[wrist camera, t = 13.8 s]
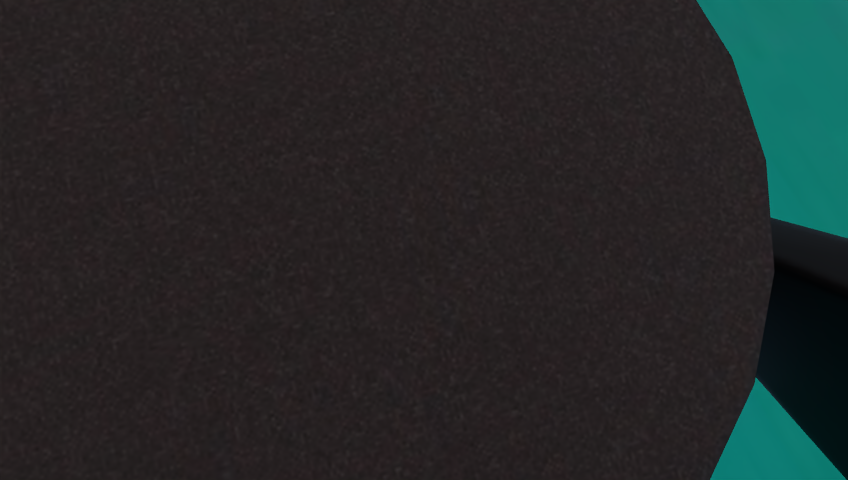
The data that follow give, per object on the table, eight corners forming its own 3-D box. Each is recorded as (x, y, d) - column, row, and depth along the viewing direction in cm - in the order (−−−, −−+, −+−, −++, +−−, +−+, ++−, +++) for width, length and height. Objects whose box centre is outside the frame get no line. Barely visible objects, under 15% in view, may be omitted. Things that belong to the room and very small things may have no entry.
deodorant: (188, 337, 19) (-398, 280, 4) (330, 170, 20) (278, -356, 5) (363, 475, 19) (420, 938, 4) (494, 299, 20) (925, 145, 5)
